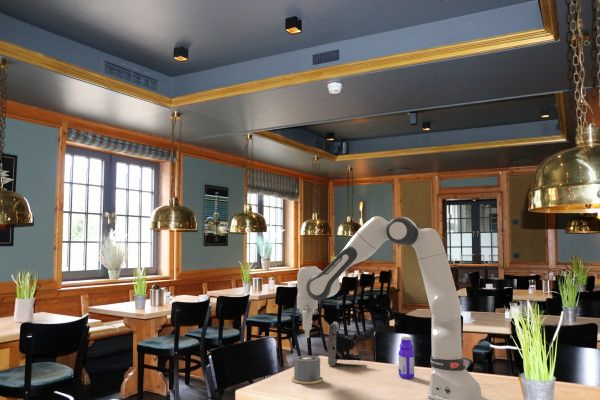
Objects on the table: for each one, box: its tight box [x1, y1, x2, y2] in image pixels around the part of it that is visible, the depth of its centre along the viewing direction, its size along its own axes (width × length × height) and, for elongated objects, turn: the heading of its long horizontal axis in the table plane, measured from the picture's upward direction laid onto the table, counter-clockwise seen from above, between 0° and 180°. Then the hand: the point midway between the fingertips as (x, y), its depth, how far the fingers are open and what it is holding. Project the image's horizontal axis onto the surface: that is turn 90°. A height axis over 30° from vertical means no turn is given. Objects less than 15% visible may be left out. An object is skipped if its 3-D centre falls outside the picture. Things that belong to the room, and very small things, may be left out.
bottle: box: [398, 335, 415, 380], centre depth 224 cm, size 7×6×17 cm
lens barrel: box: [291, 355, 324, 385], centre depth 218 cm, size 13×13×9 cm
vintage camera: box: [327, 320, 363, 367], centre depth 247 cm, size 10×16×20 cm, turn 78°
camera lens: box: [300, 357, 314, 360], centre depth 218 cm, size 6×6×4 cm
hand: (307, 337), depth 219 cm, fingers closed
